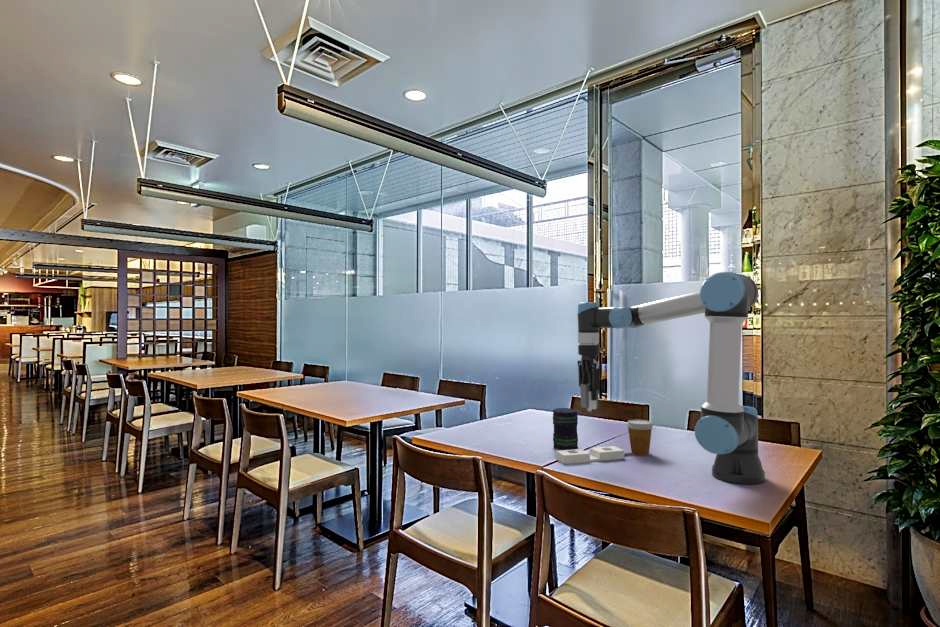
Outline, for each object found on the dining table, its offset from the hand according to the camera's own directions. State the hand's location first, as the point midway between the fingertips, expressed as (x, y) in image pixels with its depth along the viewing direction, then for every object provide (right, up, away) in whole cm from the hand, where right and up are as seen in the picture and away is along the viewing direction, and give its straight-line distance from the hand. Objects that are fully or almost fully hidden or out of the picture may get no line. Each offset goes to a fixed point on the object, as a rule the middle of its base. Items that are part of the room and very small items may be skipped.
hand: (589, 407), depth 189 cm
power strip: (+3, -19, +1) cm, 19 cm away
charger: (0, -1, 0) cm, 1 cm away
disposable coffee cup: (+21, -19, +7) cm, 29 cm away
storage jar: (-6, -19, +17) cm, 26 cm away
